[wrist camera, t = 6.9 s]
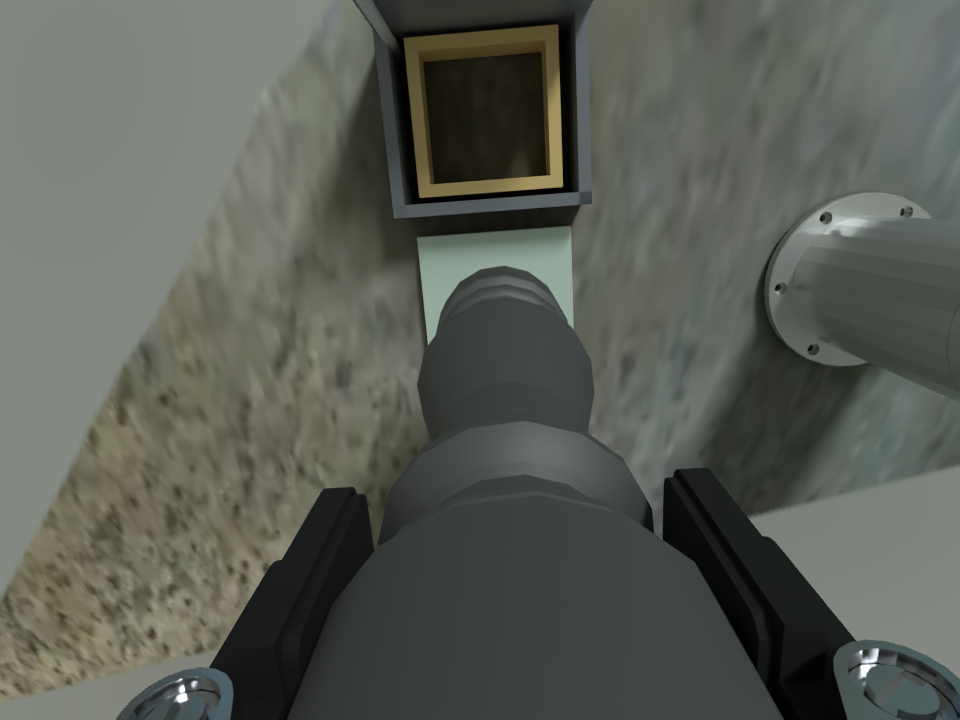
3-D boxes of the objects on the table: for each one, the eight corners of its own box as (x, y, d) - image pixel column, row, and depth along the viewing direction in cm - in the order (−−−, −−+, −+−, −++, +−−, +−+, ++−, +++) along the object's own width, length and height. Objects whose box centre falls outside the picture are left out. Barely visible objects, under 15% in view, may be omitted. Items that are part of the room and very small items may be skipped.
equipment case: (577, 15, 37) (627, -89, 24) (582, 203, 40) (627, 206, 27) (383, 32, 38) (323, -60, 24) (403, 216, 41) (360, 226, 27)
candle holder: (583, 297, 28) (1106, 876, 4) (528, 402, 30) (679, 1253, 6) (471, 244, 28) (330, 564, 4) (421, 354, 29) (95, 1083, 5)
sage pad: (568, 225, 41) (570, 226, 40) (571, 332, 43) (573, 335, 42) (418, 236, 41) (417, 237, 40) (429, 341, 43) (428, 345, 43)
